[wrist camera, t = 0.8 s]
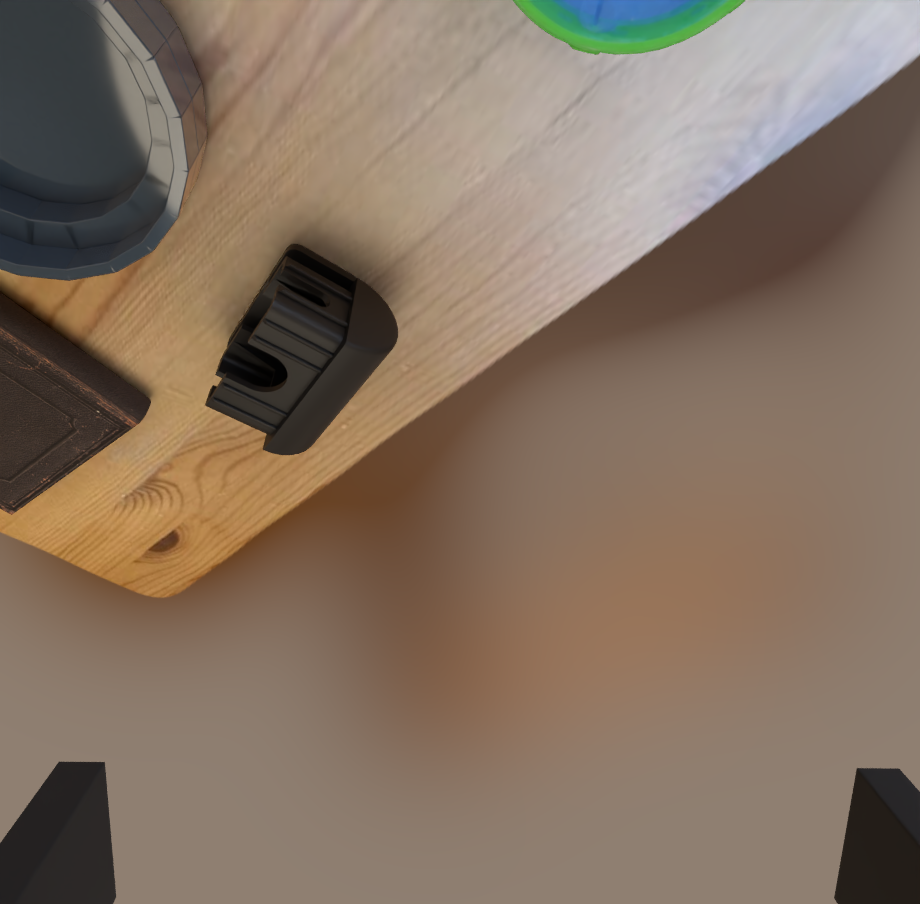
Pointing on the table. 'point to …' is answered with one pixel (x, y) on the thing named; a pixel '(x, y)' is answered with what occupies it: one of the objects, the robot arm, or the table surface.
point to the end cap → (302, 351)
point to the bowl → (93, 134)
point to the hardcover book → (53, 407)
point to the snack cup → (624, 22)
